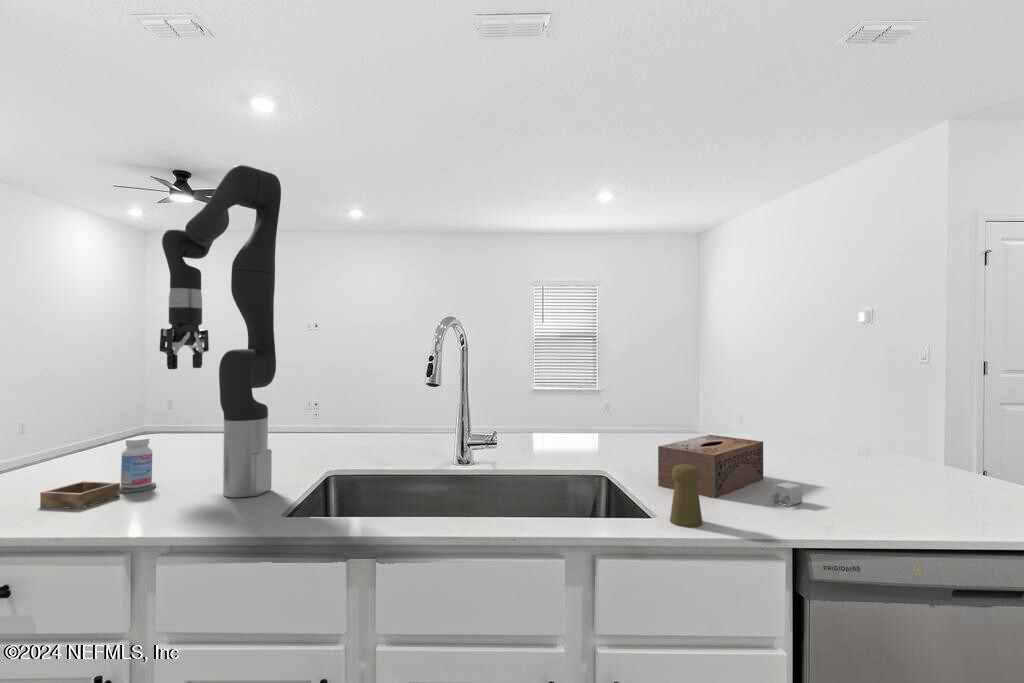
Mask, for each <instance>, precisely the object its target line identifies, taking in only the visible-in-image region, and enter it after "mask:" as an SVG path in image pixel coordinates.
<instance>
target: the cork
mask: <svg viewBox="0 0 1024 683" xmlns="http://www.w3.org/2000/svg"><path fill="white" fill-rule="evenodd" d="M672 477H673V479H674V481H675V487H674V490H673V495H672V503H671V510H670V518H669V521H670V523H671V524H672V525H675V526H677V527H682V528H698V527H702V526H703V524H702V523H703V517H702V510H701V502H700V495H699V494H698V486H697V483H698V482H699V479H700V471H699V469H698V468H697V467H695V466H692V465H686V464H682V465H676V466H675V467H674V468H673V471H672Z"/></svg>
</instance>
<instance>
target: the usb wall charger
mask: <svg viewBox="0 0 1024 683" xmlns="http://www.w3.org/2000/svg"><path fill="white" fill-rule="evenodd" d="M769 497H770V498H771V499H772V501H773V503H775V502H777V503H781V504H786V505H790V506H789V507H792V506H795V504H796V505H799V504H798V503H800V504H802V503H803V487H802V486H801V485H800V484H797V483H792V482H788V481H787V482H783V483H782V482H781V483H778V484H775V485H773V487H772V493H771V494H770V495H769ZM777 503H776V504H777ZM781 504H780V505H781ZM791 505H792V506H791Z"/></svg>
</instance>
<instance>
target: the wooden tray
mask: <svg viewBox="0 0 1024 683" xmlns="http://www.w3.org/2000/svg"><path fill="white" fill-rule="evenodd" d="M120 486H121V482H108V481H107V482H106V481H104V482H103V481H86V480H85V481H84V480H83V481H79V482H75V483H71V484H67V485H64V486H60V487H57V488H53V489H48V490H45V491H41V492H40V493H39V494H40V497H39V498H40V504H39V506H47V507H46V508H55V507H69V508H68V509H73V508H81V509H83V508H82V507H84V506H87V507H89V506H88V505H90V506H92V505H91V504H93V505H95V504H94V503H97V502H100V501H103V500H106V501H108V500H107V499H109V500H111V499H110V498H113V497H116V498H118V497H117V496H119V497H120V494H121V493H120ZM113 499H114V498H113ZM103 502H104V501H103ZM100 503H101V502H100ZM97 504H98V503H97ZM48 506H49V507H48ZM84 508H85V507H84Z"/></svg>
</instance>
